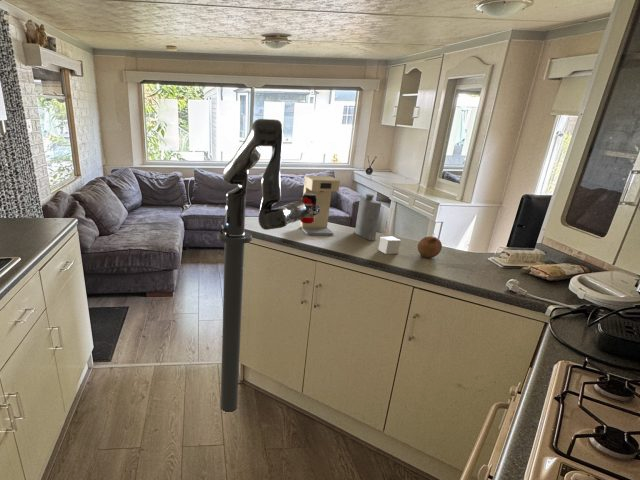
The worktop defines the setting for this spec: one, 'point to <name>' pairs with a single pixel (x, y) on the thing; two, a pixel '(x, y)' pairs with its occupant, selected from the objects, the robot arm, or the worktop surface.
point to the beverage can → (309, 200)
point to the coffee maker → (320, 202)
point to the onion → (429, 246)
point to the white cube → (389, 245)
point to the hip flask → (367, 217)
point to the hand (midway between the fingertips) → (310, 206)
